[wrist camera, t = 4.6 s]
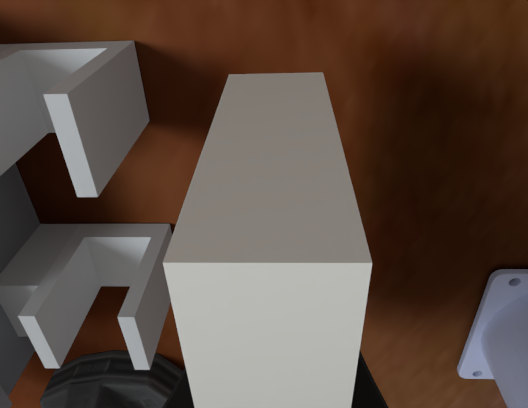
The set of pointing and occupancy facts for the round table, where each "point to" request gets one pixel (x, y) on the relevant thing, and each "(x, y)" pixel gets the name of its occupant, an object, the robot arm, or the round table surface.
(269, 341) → the door panel
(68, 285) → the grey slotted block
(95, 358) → the zipper pull
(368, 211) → the round table surface
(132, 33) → the round table surface
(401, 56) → the round table surface
